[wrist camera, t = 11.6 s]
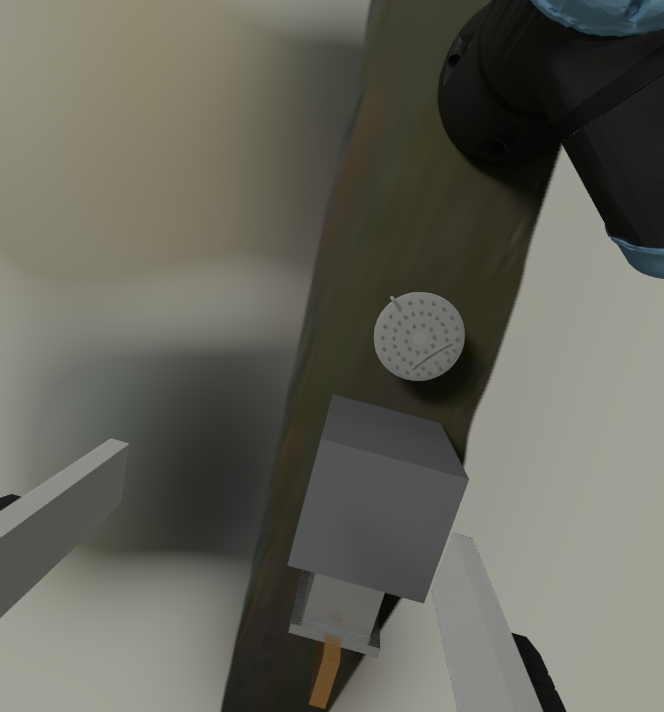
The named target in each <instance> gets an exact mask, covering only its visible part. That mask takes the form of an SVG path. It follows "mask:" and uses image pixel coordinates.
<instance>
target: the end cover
mask: <svg viewBox="0 0 664 712" xmlns="http://www.w3.org/2000/svg"><path fill="white" fill-rule="evenodd" d="M384 594H385V592H381V591H378V590H374V589H371V588H367V587H363V586H360V585H356V584H353V583H349V582H345V581H342V580H338V579H335V578H331V577H328V576H324V575H320V574H317V573H313V572H310V571H306V570H303V569H302V572H301V575H300V580H299V585H298V589H297V594H296V599H295V604H294V608H293V613H292V618H291V623H290V627H289V633H293V634H296V635H300V636H304V637H307V638H311V639H314V640H317V644H316V652H315V660H314V667H313V675H312V683H311V691H310V699H309V704H310V705H313V706H316V707H320V708H323V709H325V707H326V704H327V701H328V698H329V694H330V691H331V688H332V685H333V682H334V679H335V676H336V673H337V670H338V666H339V663H340V650H341V647H342V648H346V649H349V650H353V651H356V652H360V653H364V654H367V655H371V656H374V657H377V656H378V653H379V651H380V633H379V608H380V605H381V602H382V600H383V597H384Z"/></svg>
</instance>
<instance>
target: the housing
mask: <svg viewBox="0 0 664 712" xmlns="http://www.w3.org/2000/svg"><path fill="white" fill-rule="evenodd" d="M468 480H469V478H468V476H467V475H466V472H465V470H464V468H463V466H462V464H461V462H460V460H459V458H458V457H457V455H456V453H455V451H454V449H453V447H452V445H451V443H450V441H449V439H448V437H447V435H446V433H445V431H444V429H443V427H442V425H441V423H438V422H434V421H431V420H427V419H423V418H420V417H416V416H412V415H408V414H405V413H401V412H397V411H393V410H390V409H386V408H382V407H379V406H375V405H371V404H367V403H364V402H360V401H356V400H353V399H349V398H345V397H341V396H338V395H334V394H333V395H332V399H331V403H330V406H329V410H328V414H327V418H326V421H325V425H324V429H323V433H322V436H321V440H320V444H319V448H318V451H317V455H316V459H315V462H314V466H313V470H312V474H311V477H310V481H309V485H308V489H307V492H306V496H305V500H304V504H303V508H302V512H301V515H300V519H299V523H298V527H297V531H296V535H295V538H294V542H293V546H292V550H291V554H290V558H289V561H288V566H292V567H295V568H299V569H303V570H306V571H310V572H313V573H317V574H320V575H324V576H328V577H331V578H335V579H338V580H342V581H345V582H349V583H353V584H356V585H360V586H363V587H367V588H371V589H374V590H378V591H381V592H385V593H388V594H392V595H396V596H399V597H403V598H407V599H410V600H414V601H417V602H421V603H424V601H425V598H426V596H427V593H428V590H429V588H430V585H431V582H432V579H433V576H434V574H435V571H436V568H437V566H438V562H439V560H440V557H441V554H442V552H443V549H444V546H445V543H446V541H447V538H448V535H449V533H450V530H451V527H452V524H453V521H454V519H455V516H456V513H457V511H458V508H459V505H460V502H461V500H462V497H463V494H464V491H465V489H466V486H467V483H468Z"/></svg>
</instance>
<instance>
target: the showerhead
mask: <svg viewBox="0 0 664 712" xmlns="http://www.w3.org/2000/svg"><path fill="white" fill-rule="evenodd" d="M390 298H391V300H392V302H390V303H389V304H388V305H387V306H386V307H385V308H384V310H383V311H382V312H381V314H380V316H379V318H378V320H377V322H376V326H375V332H374V344H375V349H376V352H377V355H378V357H379V359H380V360H381V362H382V363H383V365H384V366H385V367H386V368H387V369H388V370H389V371H390V372H392V373H393V374H395V375H397V376H399V377H401V378H404V379H407V380H413V381H423V380H429V379H432V378H435V377H438V376H440V375H441V374H443V373H445V372H446V371H447V370H449V369H450V368H451V367H452V366H453V365H454V364H455V362H456V361H457V359H458V358H459V356H460V354H461V352H462V349H463V346H464V340H465V331H464V325H463V322H462V319H461V317H460V315H459V313H458V311H457V310H456V309H455V308H454V306H453V305H452V304H451V303H449V302H448V301H447V300H445V299H444V298H442V297H440V296H438V295H435V294H431V293H425V292H415V293H409V294H405V295H402V296H400V297H398V298H396V299H395V298H394V297H393V296H391V297H390Z"/></svg>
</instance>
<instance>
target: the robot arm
mask: <svg viewBox="0 0 664 712" xmlns="http://www.w3.org/2000/svg"><path fill="white" fill-rule="evenodd" d="M438 106H439V112H440V116H441V120H442V123H443V125H444V128H445V130H446V132H447V134H448V135H449V137H450V138H451V140H452V141H453V142H454V144H455V145H456V146H457V147H458V148H459V149H460V150H461V151H462V152H463V153H465V154H466V155H468V156H469V157H471V158H472V159H474V160H476V161H479V162H481V163H484V164H488V165H493V166H514V165H519V164H523V163H527V162H529V161H532V160H534V159H536V158H538V157H540V156H542V155H543V154H545V153H546V152H548V151H549V150H551V149H552V148H554V147H555V146H557V145H558V144H559V143H562V145H563V147H564V149H565V150H566V152H567V154H568V156H569V158H570V160H571V162H572V163H573V165H574V167H575V169H576V171H577V173H578V174H579V177H580V178H581V180H582V182H583V184H584V186H585V187H586V189H587V191H588V193H589V195H590V197H591V199H592V201H593V202H594V204H595V206H596V208H597V210H598V212H599V214H600V216H601V217H602V219H603V221H604V223H605V229H606V232H607V234H608V236H609V237H611V239H612V241H614V242H615V243H616V244H617V245H618V246H619V248H620V249H621V251H622V252H623V254H624V256H625V257H626V259H627V261H628V262H629V264H630V265H632V266H633V267H634V268H635V269H636V270H638V271H640V272H641V273H643V274H646V275H649V276H652V277H656V278H662V279H664V0H492V1H491V2H490V3H489V4H487V5H486V6H485V7H483V8H482V9H481V10H479V11H478V12H477V13H476V14H475V15H474V16H473V17H472V18H471V19H470V20H469V21H468V22H467V23H466V24H465V25H464V27H463V28H462V29H461V31H460V32H459V34H458V35H457V36H456V38H455V40H454V41H453V43H452V45H451V47H450V49H449V52H448V54H447V57H446V59H445V62H444V65H443V68H442V71H441V74H440V79H439V85H438ZM600 115H601V116H600ZM597 117H598V118H597ZM594 119H595V120H594ZM591 121H592V122H591ZM588 123H589V124H588ZM585 125H586V126H585ZM582 127H583V128H582ZM579 129H580V130H579ZM576 131H577V132H576ZM573 133H574V134H573ZM563 140H564V141H563ZM128 449H129V443H125V442H121V441H118V440H114V439H109V440H108V441H106V442H105V443H103V444H102V445H101V446H99V447H97V448H96V449H94V450H93V451H91V452H90V453H88V454H87V455H85V456H84V457H82V458H80V459H79V460H77V461H76V462H75V463H73V464H71V465H70V466H68V467H67V468H65V469H64V470H62V471H61V472H59V473H58V474H56V475H55V476H53V477H52V478H50V479H48V480H47V481H45V482H44V483H43V484H41V485H39V486H38V487H37V488H35V489H33V490H32V491H30V492H29V493H27V494H26V495H24V496H23V497H20V496H17V495H13V494H10V495H7V496H4V497H2V498H0V618H1V617H2V616H3V615H4V614H5V613H6V612H7V611H8V610H9V609H10V608H11V607H12V606H13V605H14V604H15V603H17V602H18V601H19V599H21V598H22V597H23V596H24V595H25V594H26V593H27V592H28V591H29V590H30V589H31V588H32V587H33V586H34V585H35V584H36V583H38V582H39V581H40V580H41V579H42V578H43V577H44V576H45V575H46V574H47V573H48V572H49V571H50V570H51V569H52V568H53V567H54V566H55V565H56V564H58V563H59V562H60V561H61V560H62V559H63V558H64V557H65V556H66V555H67V554H68V553H69V552H70V551H71V550H72V549H73V548H74V547H75V546H77V545H78V544H79V543H80V542H81V541H82V540H83V539H84V538H85V537H86V536H87V535H88V534H89V533H90V532H91V531H92V530H93V529H94V528H95V527H96V526H98V525H99V524H100V523H101V522H102V521H103V520H104V519H105V518H106V517H107V516H108V515H109V514H110V513H111V512H112V511H113V510H114V509H115V508H116V507H117V506H119V505H120V501H121V494H122V488H123V481H124V475H125V468H126V461H127V455H128ZM432 595H433V599H434V604H435V609H436V614H437V618H438V622H439V628H440V632H441V637H442V642H443V647H444V651H445V655H446V661H447V665H448V670H449V675H450V680H451V684H452V689H453V694H454V698H455V703H456V708H457V712H566V710H565V708H564V705H563V703H562V701H561V699H560V697H559V694H558V692H557V691H556V690H555V686H554V684H553V681H552V679H551V677H550V676H549V675H548V671H547V668H546V666H545V664H544V662H543V660H542V658H541V655H540V654H539V652H538V651H537V650H536V649H535V647H534V646H533V645H532V643H531V642H530V641H529V640H528V639H527V637H525V636H521V635H518V634H514V633H511V632H510V629H509V627H508V624H507V622H506V619H505V617H504V614H503V612H502V610H501V607H500V605H499V602H498V600H497V597H496V595H495V592H494V590H493V587H492V585H491V583H490V580H489V578H488V575H487V573H486V570H485V568H484V566H483V563H482V560H481V558H480V556H479V553H478V551H477V548H476V546H475V544H474V541H473V539H472V538H471V537H467V536H464V535H460V534H456V533H453V534H452V537H451V540H450V542H449V545H448V548H447V551H446V553H445V556H444V559H443V561H442V564H441V567H440V570H439V573H438V575H437V578H436V581H435V583H434V586H433V589H432Z"/></svg>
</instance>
